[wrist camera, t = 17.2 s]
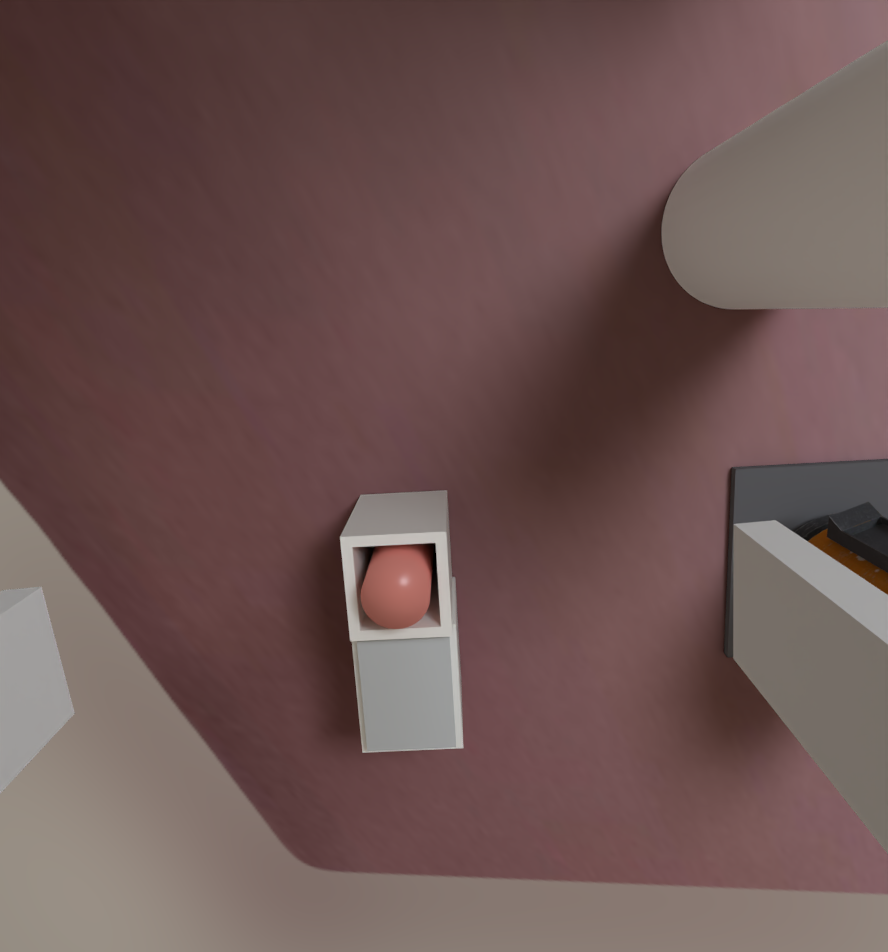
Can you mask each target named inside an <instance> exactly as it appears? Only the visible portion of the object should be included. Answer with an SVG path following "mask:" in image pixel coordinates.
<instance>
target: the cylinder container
mask: <svg viewBox="0 0 888 952" xmlns="http://www.w3.org/2000/svg"><path fill="white" fill-rule="evenodd" d="M661 236H662V247H663V252H664V256H665V260H666V262H667V265H668V267H669V269H670V271H671V273H672V275H673V276H674V278H675V279H676V281H677V282H678V283H679V285H680V286H681V287H682V288H683V289H684V290H685V291H686V292H687V293H689V294H690V295H691V296H693V297H694V298H696V299H697V300H699V301H701V302H703V303H705V304H708V305H711V306H714V307H717V308H723V309H825V308H888V40H887V41H886V42H884V43H882V44H881V45H879V46H878V47H876V48H874V49H873V50H871V51H869V52H868V53H866V54H865V55H863V56H861V57H860V58H858V59H857V60H855V61H853V62H852V63H850V64H849V65H847V66H845V67H844V68H842V69H841V70H839V71H837V72H836V73H834V74H833V75H831V76H829V77H828V78H826V79H824V80H823V81H821V82H820V83H818V84H816V85H815V86H813V87H812V88H810V89H808V90H807V91H805V92H804V93H802V94H800V95H799V96H797V97H796V98H794V99H792V100H791V101H789V102H788V103H786V104H784V105H783V106H781V107H779V108H778V109H776V110H775V111H773V112H771V113H770V114H768V115H767V116H765V117H763V118H762V119H760V120H759V121H757V122H755V123H754V124H752V125H751V126H749V127H747V128H746V129H744V130H743V131H741V132H739V133H738V134H736V135H734V136H733V137H731V138H730V139H728V140H726V141H725V142H723V143H722V144H720V145H718V146H717V147H715V148H714V149H712V150H710V151H709V152H707V153H706V154H704V155H703V156H701V157H700V158H699V159H697V160H696V161H695V162H694V163H693V164H691V165H690V166H689V168H688V169H687V170H686V171H685V172H684V173H683V174H682V176H681V177H680V178H679V180H678V181H677V183H676V184H675V186H674V188H673V190H672V191H671V193H670V196H669V198H668V201H667V204H666V206H665V210H664V214H663V220H662V229H661Z"/></svg>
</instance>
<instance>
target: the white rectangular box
mask: <svg viewBox="0 0 888 952" xmlns="http://www.w3.org/2000/svg"><path fill="white" fill-rule="evenodd" d="M424 543H436V558H437V570H432V580H431V593H430V603H429V607H428V609H427V612H426V613H425V615H424V616H423V617H422V619H420V620H419V621H418V622H417V623H415V624H414V625H412V626H409V627H407V628H403V629H390V628H386V627H383V626H380V625H378V624H376V623H375V622H374V621H372V620H371V619H370V618H369V617H368V615H367V614H366V613H365V611H364V609H363V607H362V603H361V589H362V585H363V582H364V579H365V576H366V573H367V570H368V567H369V564H370V560H371V557H372V554H373V551H374V548H375V547H374V546H386V545H405V544H424ZM340 544H341V554H342V564H343V574H344V584H345V594H346V604H347V615H348V625H349V635H350V641H352V650H353V660H354V671H355V681H356V691H357V701H358V712H359V722H360V732H361V742H362V752H363V753H365V752H387V751H410V750H432V749H454V748H463V721H462V686H461V668H460V651H459V634H458V616H457V599H456V582H455V577H452V565H451V548H450V531H449V514H448V497H447V490H441V491H423V492H404V493H385V494H367V495H360V497H359V499H358V501H357V503H356V505H355V507H354V509H353V511H352V513H351V515H350V517H349V520H348V522H347V524H346V526H345V528H344V530H343V532H342V534H341V536H340Z"/></svg>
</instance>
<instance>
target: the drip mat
mask: <svg viewBox="0 0 888 952" xmlns="http://www.w3.org/2000/svg"><path fill="white" fill-rule="evenodd" d="M868 501H869V502H870V503H871V504H872V505H873V507H874V508H875V509H876V510H877V511H878V512H879V513H880V514H881V515H882V516H884V517H886V518H888V459H877V460H858V461H840V462H821V463H803V464H784V465H765V466H747V467H732V475H731V499H730V523H729V547H728V571H727V595H726V619H725V643H724V654H725V655H726V656H727V657H733V545H734V524H738V523H750V522H761V521H772V520H776V521H778V522H779V523H781V524H782V525H784V526H785V527H787V528H788V529H790V530H791V531H793V532H795V531H796V530H797V529H799V528H800V527H802V526H803V525H805V524H806V523H808V522H810V521H812V520H814V519H817V518H819V517H822V516H825V515H829V514H834V513H839V512H842V511H845V510H847V509H850V508H853V507H855V506H858V505H861V504H863V503H866V502H868Z"/></svg>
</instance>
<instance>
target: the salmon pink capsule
mask: <svg viewBox="0 0 888 952" xmlns="http://www.w3.org/2000/svg"><path fill="white" fill-rule="evenodd" d="M433 552H434V543H424V544H405V545H386V546H375V548H374V551H373V554H372V557H371V560H370V564H369V567H368V570H367V573H366V576H365V579H364V582H363V585H362V589H361V603H362V607H363V609H364V611H365V613H366V614H367V615H368V617H369V618H370V619H371V620H372V621H374V622H375V623H376V624H378V625H380V626H383V627H386V628H390V629H403V628H407V627H409V626H412V625H414V624H415V623H417V622H418V621H419V620H420V619H422V617H423V616H424V615H425V613H426V612H427V609H428V607H429V603H430V593H431V580H432V566H433Z"/></svg>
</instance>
